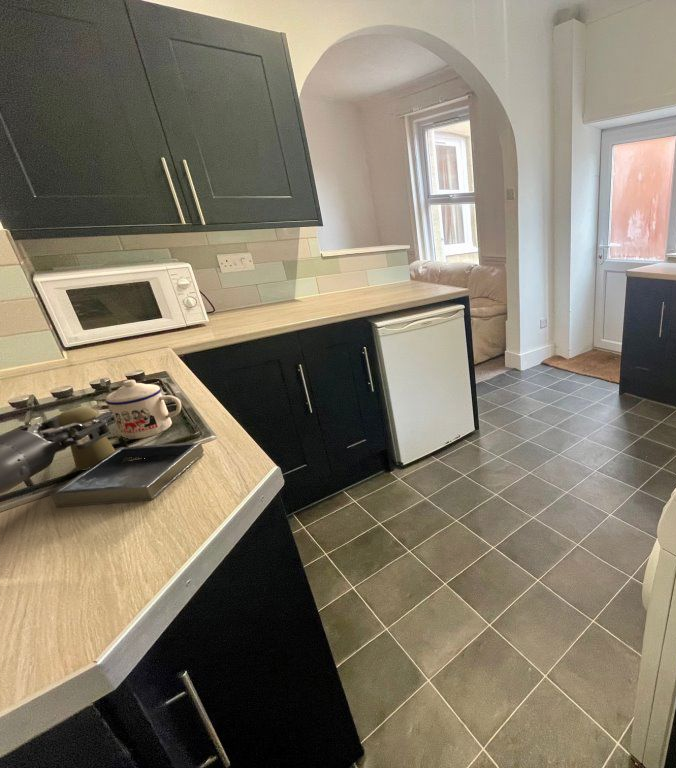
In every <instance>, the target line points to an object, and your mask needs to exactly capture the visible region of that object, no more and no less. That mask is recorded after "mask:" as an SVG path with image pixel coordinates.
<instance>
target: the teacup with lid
mask: <svg viewBox="0 0 676 768" xmlns="http://www.w3.org/2000/svg"><path fill="white" fill-rule="evenodd" d="M165 400H169V401H172V402H174V403H175V406H176V408H175V410H174V412H171V413H169V411H168V407H167V406H166V402H165ZM105 403H106V404H107V405H108V407H109V409H110V412H113V414H114V416H115V418H116V422H115V423H116V426H117V428H118V431H119V433H120V436H121V437H122V436H123V437H125V438H124V439H126V438H128V439H127V440H138V439H144V438H149V437H152V436H155V435H158V434H161V433H162V432H165V431H167V430H168V429H170V427H171V426H172V424H173V421H172V419H171V418H174V417H176V416H177V415H178V414H179V413H180V412H181V410H182V402H181V400H180V399H179V398H178V397H176V396H174V395H172V394H171V395H170V394H167V395H162V388H161V387H160V386H159V385H157V384H153V383H152V384H150V383H142V382H136V380H135V379H128V380H127V379H126V380H125V381H123V382H122V385H121V387H119V388H117V389H116V390H115V391H113V392H111V393H109V394H108V395H106V397H105ZM123 437H122V438H123Z"/></svg>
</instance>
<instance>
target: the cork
mask: <svg viewBox="0 0 676 768" xmlns="http://www.w3.org/2000/svg"><path fill="white" fill-rule="evenodd" d="M58 415H59V416H58V418H57V423H58V425H59V426H60V427H62V426H65V425H69V424H72V423H79V424H82V423H85V422H88V421H91V420H93V419H95V418H97V417H99V414H98V412H97V411H96V410H95V409H93V408H91V407H89V406H80V407H75V408H71V409H70V408H69V409H67V410H65V411H63V412H60V414H58ZM87 427H89V426H87ZM87 427H84V428H83V430H84V429H85V428H87ZM69 431H70V433H71V435H74V434H75V433H76V431H75V429H69ZM69 448H70V451H71V455H72V458H73V462H74V465H75V469H76V470H77V471H79V470H83V469H87V468H89V467H92V466H93V465H95V464H96V463H98V462H99V461H101V460H102V459H104V458H105V457H107V456H108V455H110V454H111V453H113V452H114V451H116V449H115V447H114V446H113V445H112V443H111V441H110V440H109V439H108V437H107V436H105V437H103V438H101V439H100V440H98V441H96V442H94V443H93V444H91V445H89V446H87V447H86V448H84V449H77V447H76V445H73V446H70V447H69Z"/></svg>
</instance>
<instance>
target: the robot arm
mask: <svg viewBox="0 0 676 768" xmlns="http://www.w3.org/2000/svg"><path fill="white" fill-rule="evenodd" d="M59 415H60V414H57V415H55V416H53V417H51V418H49V419H47V420H45V421H43V422H36V423H33V424H32V425H31V426H28V425H27V424H23V425H20V426H17V427H16V428H13V429H11V430H9V431H7V432H4V433H2V434H0V495H3V494H4V493H6V492H8V491H10V490H11V489H13V488H16V487H17V486H19V485H20V484H22V483H23V482H25V481H27V480H28V479H30V478H32V477H33V476H35V475H37V474H38V473H40V472H41V471H43V470H45V469H47V468H48V467H49V466H50V465H51V464H52V463H53V461H54V458H55V456H56V454H57V453H59V452H63V451H65V450H66V449H67V448H71V447H70V446H73V445H76V447H77V449H84V448H86V447H87V446H89V445H91V444H93V443H94V442H96V441H98V440H100V439H101V438H103V437H105V436H106V437H107V436H109V435H110V434H111V433H112V432H111V430H110V426H111V425H114V424H115V423H116V418H115V416H114V414H113V412H111V411H106V412H104V413H102V414H100V415H98V417H97V418H95V419H93V420H91V421H88V422H85V423H82V424H79V423H72V424H69V425H65V426H62V427H60V426H59V425H58V423H57V418H58V416H59ZM87 426H89V427H87ZM84 427H87V428H85V429H84V430H83V428H84ZM69 429H75V431H76V433H75V434H74V435H71V433H70V431H69Z"/></svg>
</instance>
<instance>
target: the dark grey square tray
mask: <svg viewBox="0 0 676 768" xmlns="http://www.w3.org/2000/svg"><path fill="white" fill-rule="evenodd" d="M203 455H205V450H204V447H203V445H202V442H201V441H197V442H182V443H181V442H180V443H166V444H152V445H150V444H149V445H137V446H135V445H134V446H121V447H119V448H117V449H115V451H114V452H113V453H111V454H110V455H108V456H107V457H105V458H104V459H102V460H101V461H99V462H98V463H96V464H95V465H93V466H92V467H90V468H89V469H87V470H86V471H82V472H81V473H79V474H78V475H76V476H75V477H74V478H72V479H71V480H69V481H68V482H66V483H64V484H63V485H60V487H58V488H57V489H55V490H54V491H52V492H51V493H49V496H50V498H51V499H52V501H53V503H54V505H55V507H56V508H67V507H69V508H70V507H79V506H80V507H81V506H92V505H106V504H108V505H109V504H119V503H130V502H131V503H133V502H142V501H143V502H144V501H153V500H155V499H156V498H157V497H158V496H159V495H160V494H161V493H163V491H165V490H166V489H167V488H168V487H169V486H171V484H172V483H174V482H175V481H177V479H178V478H179V477H181V475H183V474H184V473H185V472H186V471H187V470H189V468H190V467H191V466H193V464H195V463H196V462H198V460H199V459H200V458H201V457H203ZM125 457H137V458H138V457H139V458H142V459H139V460H133V461H125V462H122V460H123V459H124V458H125ZM144 458H145V459H144ZM121 462H122V463H121Z"/></svg>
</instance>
